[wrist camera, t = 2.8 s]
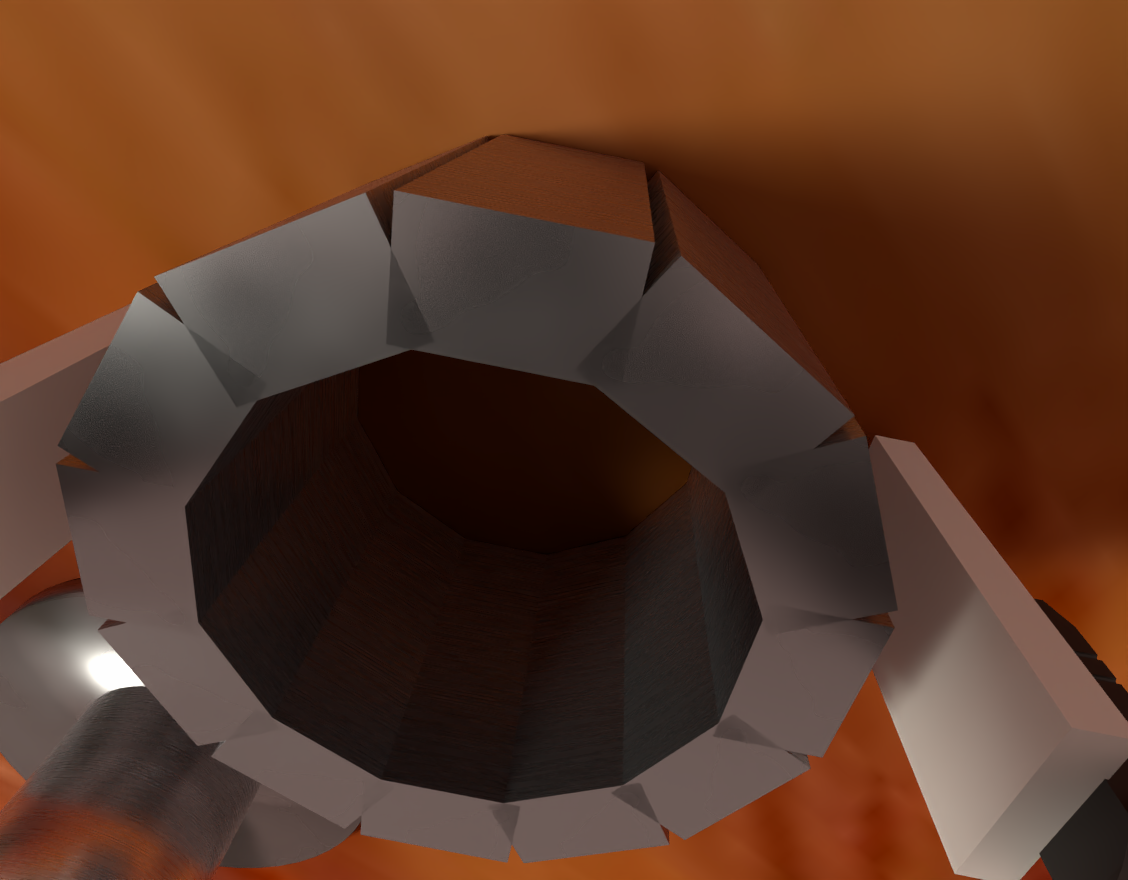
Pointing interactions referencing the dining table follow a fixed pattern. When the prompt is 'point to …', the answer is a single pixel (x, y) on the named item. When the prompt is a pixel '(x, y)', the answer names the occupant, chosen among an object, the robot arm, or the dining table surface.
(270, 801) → the piston post
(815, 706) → the ring
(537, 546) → the dining table surface
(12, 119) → the dining table surface
